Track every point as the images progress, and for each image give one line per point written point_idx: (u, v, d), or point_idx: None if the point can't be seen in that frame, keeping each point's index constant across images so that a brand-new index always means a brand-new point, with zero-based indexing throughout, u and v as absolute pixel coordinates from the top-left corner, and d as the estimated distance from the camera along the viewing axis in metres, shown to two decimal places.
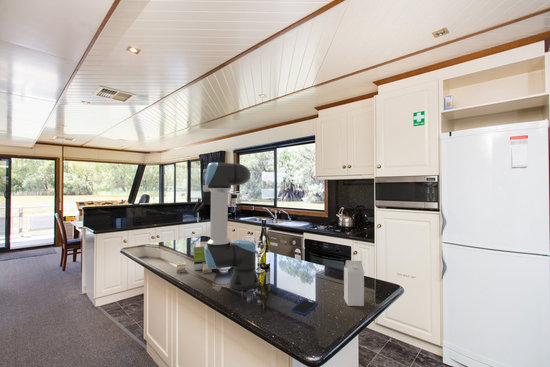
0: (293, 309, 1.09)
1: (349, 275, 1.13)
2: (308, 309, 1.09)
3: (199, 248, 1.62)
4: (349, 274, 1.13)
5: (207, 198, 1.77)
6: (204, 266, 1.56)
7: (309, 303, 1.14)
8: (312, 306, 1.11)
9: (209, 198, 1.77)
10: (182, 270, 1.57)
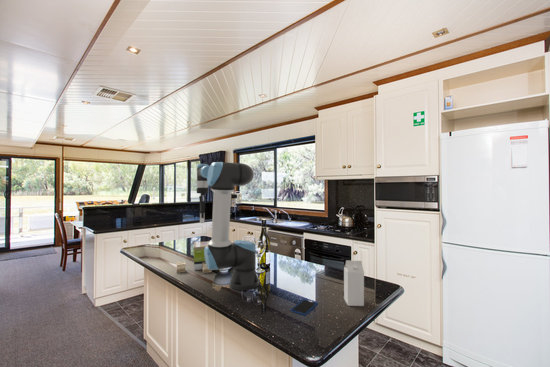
0: (293, 309, 1.09)
1: (349, 275, 1.13)
2: (308, 309, 1.09)
3: (199, 248, 1.62)
4: (349, 274, 1.13)
5: (200, 194, 1.70)
6: (204, 266, 1.56)
7: (309, 303, 1.14)
8: (312, 306, 1.11)
9: None
10: (182, 270, 1.57)
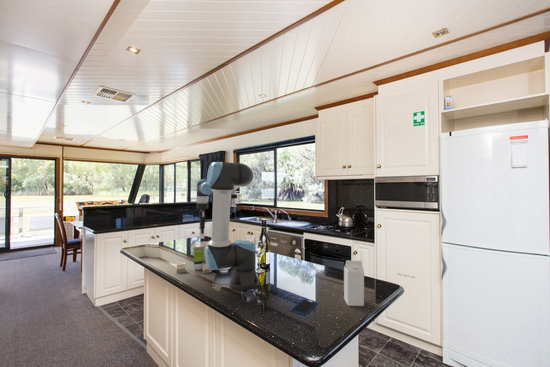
0: (293, 309, 1.09)
1: (349, 275, 1.13)
2: (308, 309, 1.09)
3: (199, 248, 1.62)
4: (349, 274, 1.13)
5: (200, 210, 1.70)
6: (204, 266, 1.56)
7: (309, 303, 1.14)
8: (312, 306, 1.12)
9: (200, 210, 1.69)
10: (182, 270, 1.57)
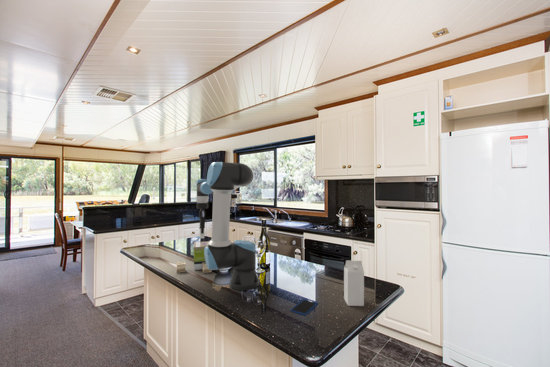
0: (293, 309, 1.09)
1: (349, 275, 1.13)
2: (308, 309, 1.09)
3: (199, 248, 1.62)
4: (349, 274, 1.13)
5: (200, 209, 1.70)
6: (204, 266, 1.56)
7: (309, 303, 1.14)
8: (312, 306, 1.12)
9: (200, 210, 1.69)
10: (182, 270, 1.57)
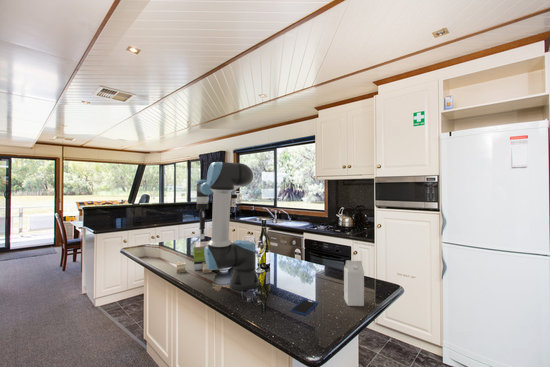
0: (293, 309, 1.09)
1: (349, 275, 1.13)
2: (308, 309, 1.09)
3: (199, 248, 1.62)
4: (349, 274, 1.13)
5: (200, 210, 1.70)
6: (204, 266, 1.56)
7: (309, 303, 1.14)
8: (312, 306, 1.12)
9: (200, 210, 1.69)
10: (182, 270, 1.57)
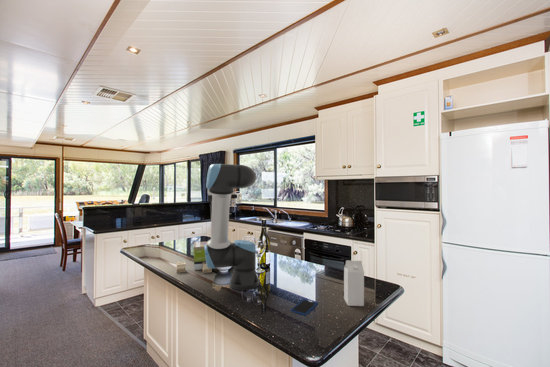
0: (293, 309, 1.09)
1: (349, 275, 1.13)
2: (308, 309, 1.09)
3: (199, 248, 1.62)
4: (349, 274, 1.13)
5: (211, 202, 1.68)
6: (204, 266, 1.56)
7: (309, 303, 1.14)
8: (312, 306, 1.12)
9: (211, 202, 1.67)
10: (182, 270, 1.57)
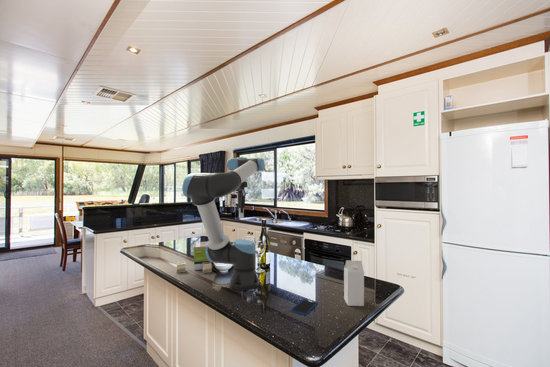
0: (293, 309, 1.09)
1: (349, 275, 1.13)
2: (308, 309, 1.09)
3: (199, 248, 1.62)
4: (349, 274, 1.13)
5: (239, 189, 1.66)
6: (204, 266, 1.56)
7: (309, 303, 1.14)
8: (312, 306, 1.12)
9: (240, 189, 1.64)
10: (182, 270, 1.57)
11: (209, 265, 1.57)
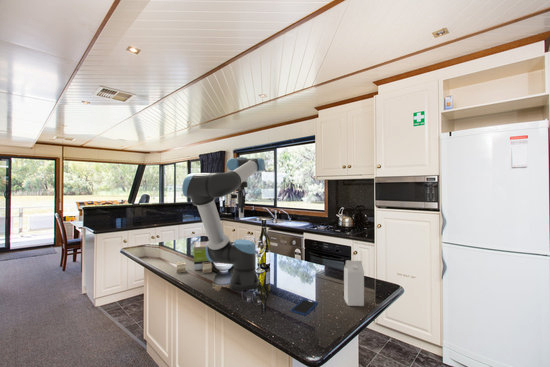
0: (293, 309, 1.09)
1: (349, 275, 1.13)
2: (308, 309, 1.09)
3: (199, 248, 1.62)
4: (349, 274, 1.13)
5: (239, 189, 1.66)
6: (204, 266, 1.56)
7: (309, 303, 1.14)
8: (312, 306, 1.12)
9: (240, 189, 1.64)
10: (182, 270, 1.57)
11: (209, 265, 1.57)
